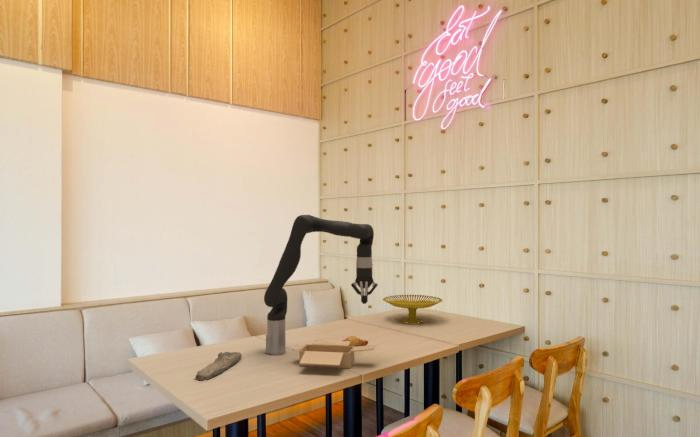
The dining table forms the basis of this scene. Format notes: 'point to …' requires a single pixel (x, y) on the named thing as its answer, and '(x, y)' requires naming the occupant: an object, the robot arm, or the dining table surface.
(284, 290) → the robot arm
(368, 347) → the flap far
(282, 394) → the dining table surface
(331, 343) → the carton
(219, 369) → the long grey stone
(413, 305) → the yellow pedestal fruit bowl
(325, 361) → the flap near
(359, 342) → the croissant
